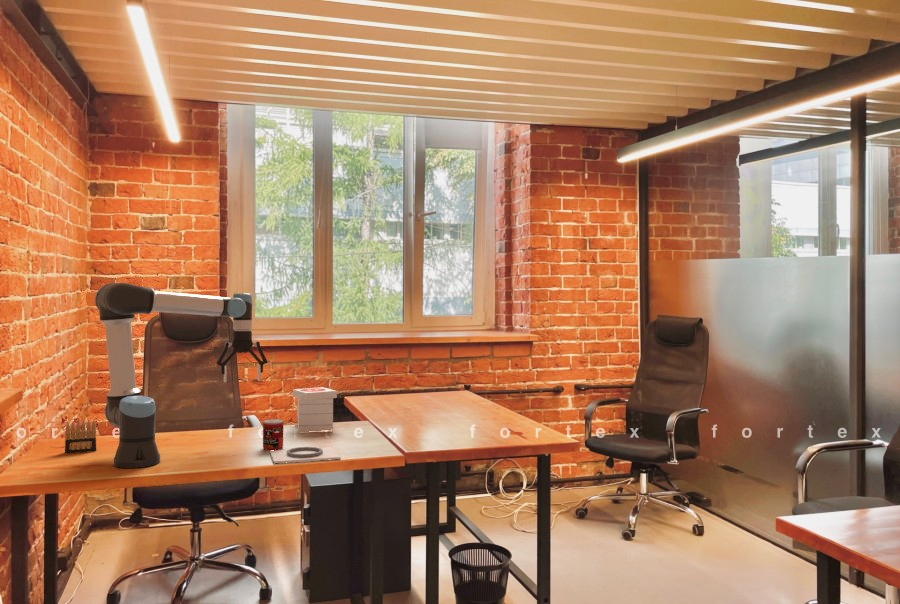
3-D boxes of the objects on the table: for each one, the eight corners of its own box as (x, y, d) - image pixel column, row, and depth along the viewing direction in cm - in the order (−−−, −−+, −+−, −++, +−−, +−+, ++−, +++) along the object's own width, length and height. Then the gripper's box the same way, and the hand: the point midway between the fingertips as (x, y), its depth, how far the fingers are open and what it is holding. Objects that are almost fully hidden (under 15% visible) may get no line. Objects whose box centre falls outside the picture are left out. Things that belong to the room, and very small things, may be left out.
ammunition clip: (96, 450, 265) (96, 419, 265) (96, 451, 264) (96, 420, 264) (64, 452, 261) (65, 421, 260) (64, 453, 259) (64, 422, 259)
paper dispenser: (331, 421, 334) (332, 384, 334) (337, 432, 305) (337, 392, 305) (291, 422, 329) (292, 384, 329) (293, 434, 300) (293, 393, 300)
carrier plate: (274, 464, 246) (274, 458, 246) (270, 453, 263) (270, 447, 263) (340, 459, 254) (340, 453, 254) (332, 449, 271) (332, 443, 271)
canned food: (259, 450, 268) (259, 422, 268) (269, 445, 276) (269, 418, 276) (276, 451, 267) (277, 423, 267) (286, 447, 274) (286, 419, 274)
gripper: (271, 329, 293) (270, 379, 293) (209, 330, 282) (209, 381, 282) (274, 330, 287) (274, 380, 287) (212, 331, 276) (211, 383, 276)
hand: (242, 381), depth 285 cm, fingers open, 13 cm apart
